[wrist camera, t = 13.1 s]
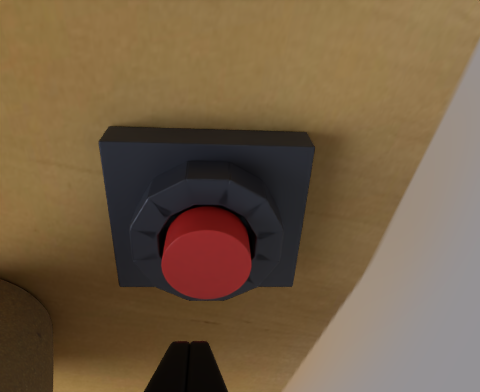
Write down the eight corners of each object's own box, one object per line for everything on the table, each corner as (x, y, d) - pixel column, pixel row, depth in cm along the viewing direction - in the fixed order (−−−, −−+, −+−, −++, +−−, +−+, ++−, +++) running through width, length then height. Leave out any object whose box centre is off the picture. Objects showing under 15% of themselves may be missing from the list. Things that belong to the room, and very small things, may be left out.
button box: (126, 264, 21) (111, 312, 18) (108, 125, 17) (85, 158, 14) (287, 264, 22) (298, 311, 19) (306, 131, 18) (325, 164, 15)
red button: (167, 271, 18) (163, 300, 16) (164, 204, 16) (158, 229, 14) (246, 271, 18) (248, 299, 16) (250, 206, 16) (255, 230, 15)
